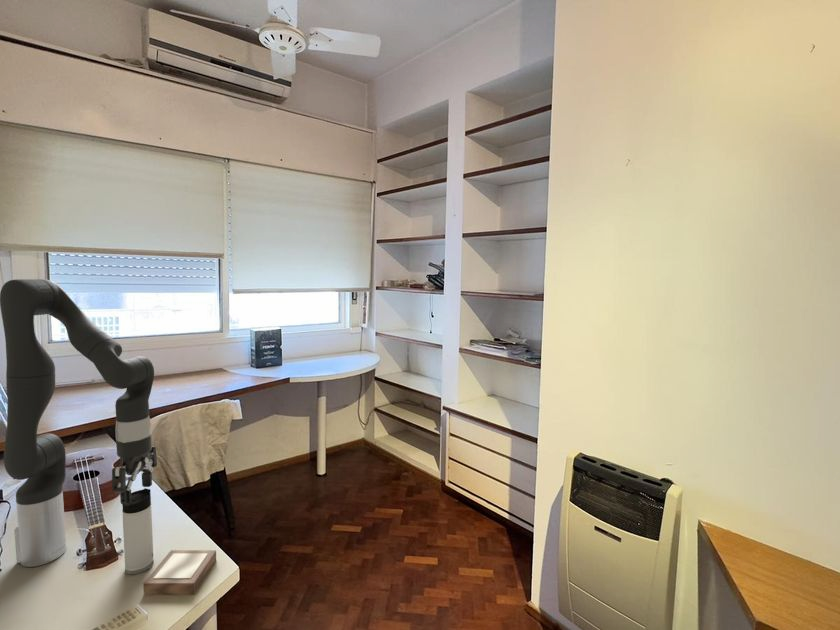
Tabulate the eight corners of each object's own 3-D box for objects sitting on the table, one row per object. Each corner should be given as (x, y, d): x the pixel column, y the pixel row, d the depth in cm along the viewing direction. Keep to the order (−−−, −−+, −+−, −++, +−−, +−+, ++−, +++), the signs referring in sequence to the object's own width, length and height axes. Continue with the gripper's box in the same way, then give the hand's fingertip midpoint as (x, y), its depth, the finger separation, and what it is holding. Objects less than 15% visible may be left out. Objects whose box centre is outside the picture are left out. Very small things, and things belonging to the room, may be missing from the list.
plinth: (143, 594, 101) (143, 582, 101) (171, 560, 113) (170, 549, 112) (194, 594, 101) (193, 582, 101) (216, 560, 113) (216, 549, 113)
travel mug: (160, 560, 113) (157, 490, 111) (137, 577, 107) (134, 503, 105) (142, 555, 115) (139, 486, 112) (119, 571, 108) (115, 498, 106)
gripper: (136, 424, 114) (139, 481, 115) (98, 446, 100) (102, 510, 101) (164, 424, 114) (167, 481, 116) (130, 446, 100) (134, 510, 102)
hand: (137, 494), depth 109 cm, fingers open, 8 cm apart
